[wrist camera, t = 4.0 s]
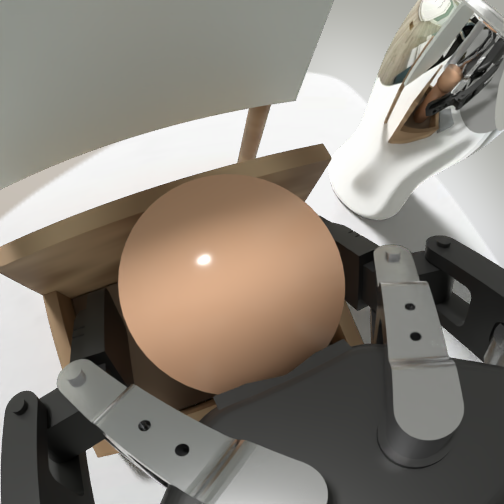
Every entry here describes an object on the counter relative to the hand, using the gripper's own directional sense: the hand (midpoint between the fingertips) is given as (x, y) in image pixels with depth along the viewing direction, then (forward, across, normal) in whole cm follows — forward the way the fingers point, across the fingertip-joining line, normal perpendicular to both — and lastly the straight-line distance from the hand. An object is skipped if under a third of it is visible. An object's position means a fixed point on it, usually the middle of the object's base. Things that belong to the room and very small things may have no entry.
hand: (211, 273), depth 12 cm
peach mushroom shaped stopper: (+2, 0, +4) cm, 5 cm away
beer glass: (+6, -13, +1) cm, 15 cm away
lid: (+3, +1, -6) cm, 6 cm away
